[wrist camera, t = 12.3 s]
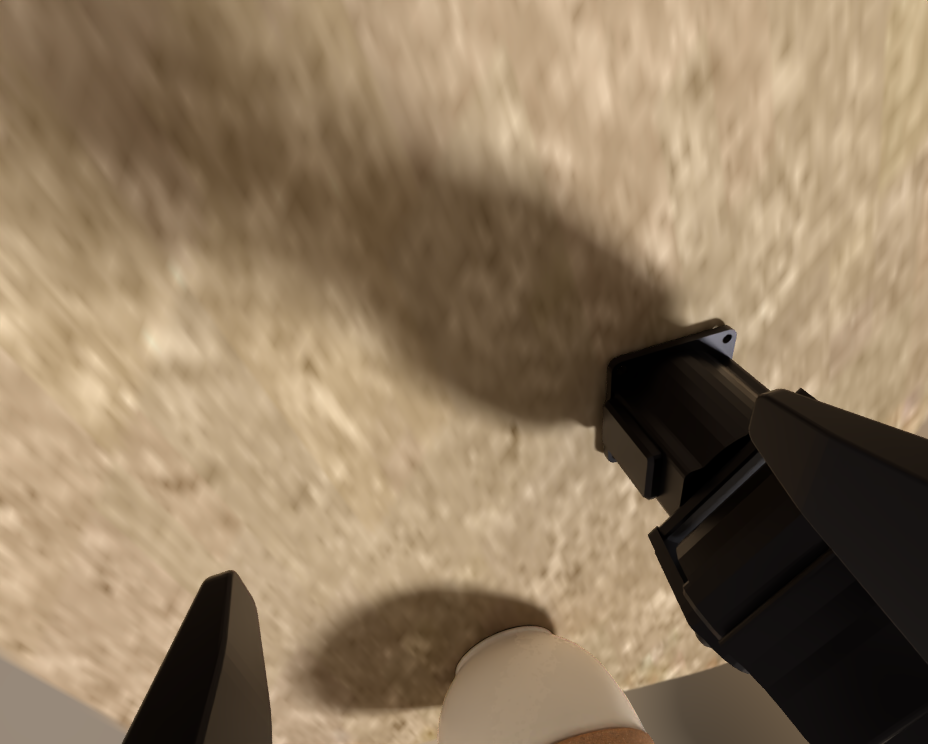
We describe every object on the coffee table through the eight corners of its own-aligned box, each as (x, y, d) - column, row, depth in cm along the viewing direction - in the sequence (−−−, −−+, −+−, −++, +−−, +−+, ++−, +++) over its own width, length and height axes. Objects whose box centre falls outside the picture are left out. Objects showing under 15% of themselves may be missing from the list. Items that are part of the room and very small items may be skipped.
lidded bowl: (382, 665, 35) (426, 892, 27) (565, 570, 36) (667, 765, 27) (456, 729, 43) (508, 920, 35) (606, 652, 43) (694, 823, 35)
